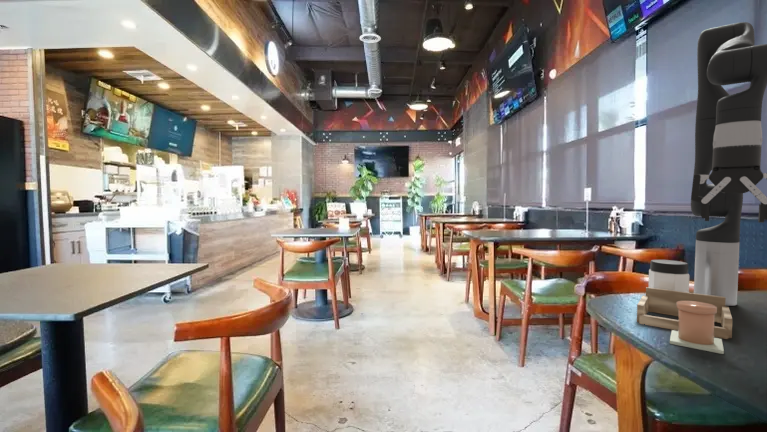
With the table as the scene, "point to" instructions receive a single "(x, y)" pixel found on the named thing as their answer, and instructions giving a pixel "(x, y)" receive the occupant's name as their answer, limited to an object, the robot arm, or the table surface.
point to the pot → (696, 322)
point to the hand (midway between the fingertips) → (732, 221)
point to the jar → (669, 275)
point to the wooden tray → (667, 304)
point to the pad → (714, 347)
